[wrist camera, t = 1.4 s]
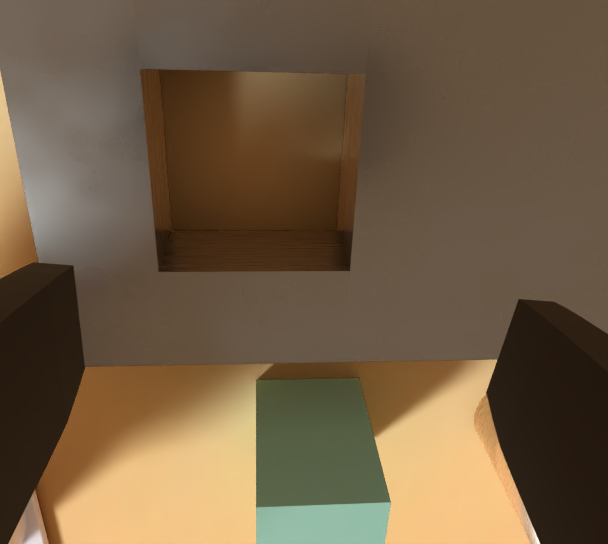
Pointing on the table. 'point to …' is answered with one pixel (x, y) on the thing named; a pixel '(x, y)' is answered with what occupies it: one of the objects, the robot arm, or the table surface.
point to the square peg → (317, 464)
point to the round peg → (501, 464)
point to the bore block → (353, 182)
